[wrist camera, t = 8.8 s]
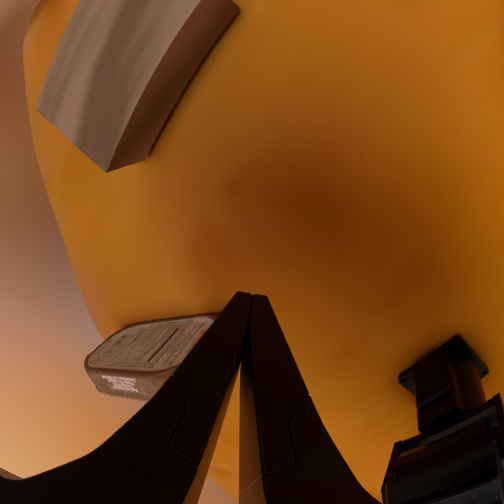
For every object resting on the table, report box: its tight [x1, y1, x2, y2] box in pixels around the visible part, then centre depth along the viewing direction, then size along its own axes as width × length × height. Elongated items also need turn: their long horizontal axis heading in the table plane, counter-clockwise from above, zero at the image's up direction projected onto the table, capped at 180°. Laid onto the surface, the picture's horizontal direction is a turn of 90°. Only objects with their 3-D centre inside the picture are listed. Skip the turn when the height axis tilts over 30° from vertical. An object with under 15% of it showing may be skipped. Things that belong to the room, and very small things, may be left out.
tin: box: [84, 315, 217, 402], centre depth 23 cm, size 15×3×8 cm, turn 112°
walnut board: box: [36, 0, 240, 173], centre depth 14 cm, size 4×12×9 cm
